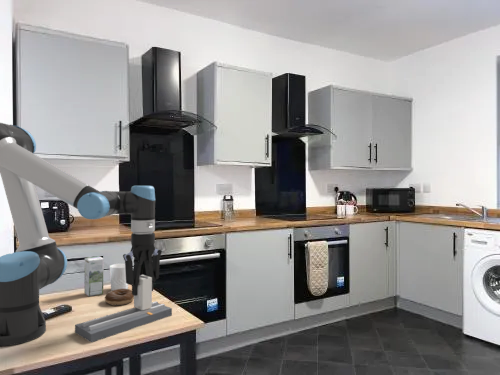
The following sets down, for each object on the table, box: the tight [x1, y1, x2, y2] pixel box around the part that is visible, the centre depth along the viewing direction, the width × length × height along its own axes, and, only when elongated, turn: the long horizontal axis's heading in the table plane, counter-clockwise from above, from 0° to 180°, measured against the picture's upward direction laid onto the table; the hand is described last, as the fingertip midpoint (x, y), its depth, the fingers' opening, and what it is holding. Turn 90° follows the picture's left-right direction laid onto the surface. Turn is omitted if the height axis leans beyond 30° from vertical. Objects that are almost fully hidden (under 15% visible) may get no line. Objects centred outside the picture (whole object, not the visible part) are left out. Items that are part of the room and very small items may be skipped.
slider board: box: [74, 300, 173, 343], centre depth 117 cm, size 10×28×3 cm, turn 140°
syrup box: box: [83, 256, 105, 297], centre depth 147 cm, size 6×6×14 cm
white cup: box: [109, 262, 129, 291], centre depth 154 cm, size 8×8×10 cm
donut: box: [104, 288, 134, 306], centre depth 139 cm, size 11×11×4 cm
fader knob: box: [133, 274, 153, 311], centre depth 122 cm, size 5×4×11 cm
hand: (142, 302), depth 122 cm, fingers closed on fader knob, 3 cm apart
